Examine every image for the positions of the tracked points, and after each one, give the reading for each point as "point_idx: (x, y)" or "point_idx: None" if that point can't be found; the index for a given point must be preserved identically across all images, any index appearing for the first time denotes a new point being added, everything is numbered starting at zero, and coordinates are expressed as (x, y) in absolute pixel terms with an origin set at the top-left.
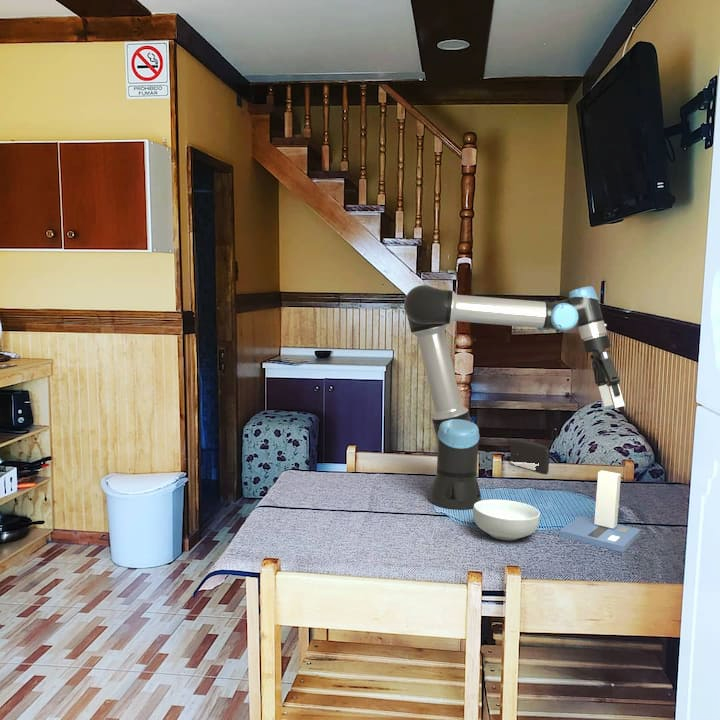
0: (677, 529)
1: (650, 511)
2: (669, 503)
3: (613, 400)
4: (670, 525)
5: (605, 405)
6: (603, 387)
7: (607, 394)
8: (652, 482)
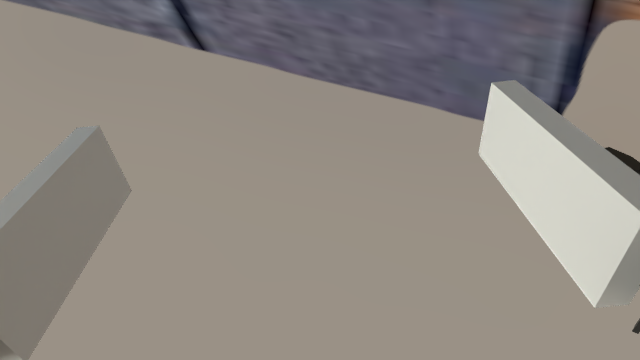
0: (167, 37)
1: (285, 8)
2: (374, 70)
3: (38, 167)
4: (188, 29)
5: (493, 100)
6: (595, 242)
7: (533, 195)
8: (573, 78)
